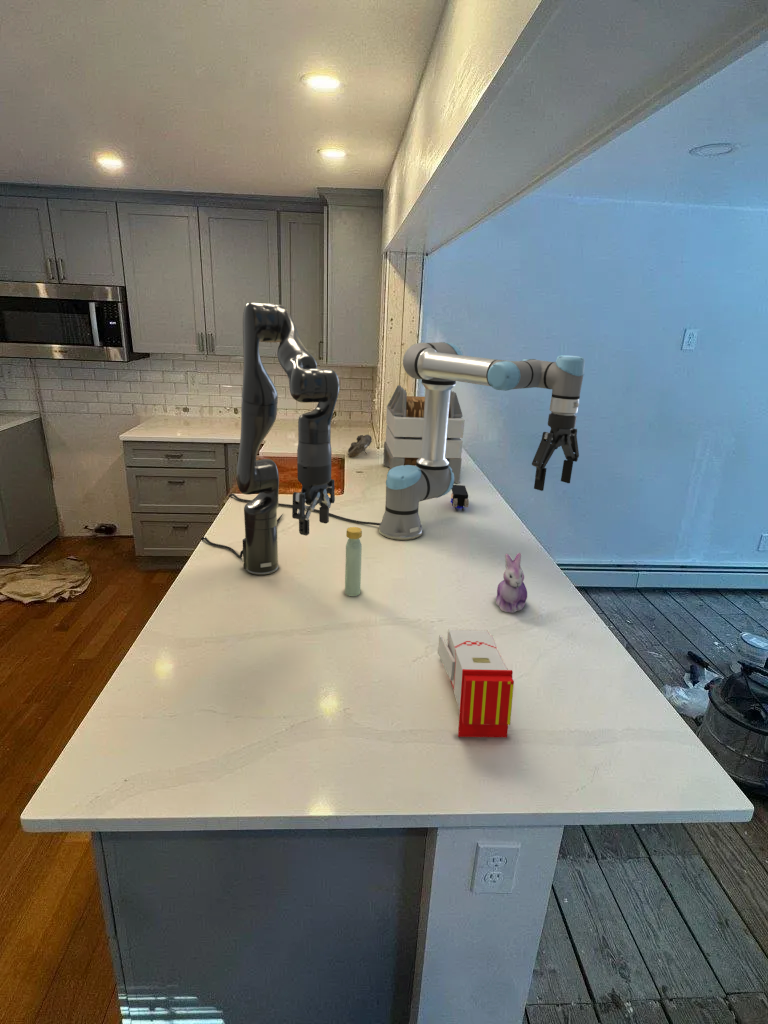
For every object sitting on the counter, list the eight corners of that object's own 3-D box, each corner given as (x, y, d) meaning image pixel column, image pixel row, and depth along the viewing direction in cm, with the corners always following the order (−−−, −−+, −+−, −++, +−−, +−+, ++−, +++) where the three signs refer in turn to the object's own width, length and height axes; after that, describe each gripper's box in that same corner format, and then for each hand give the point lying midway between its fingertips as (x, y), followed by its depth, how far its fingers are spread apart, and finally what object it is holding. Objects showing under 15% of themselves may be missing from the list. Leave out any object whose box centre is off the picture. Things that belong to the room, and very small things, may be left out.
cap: (350, 532, 154) (351, 525, 154) (364, 535, 153) (364, 528, 152) (343, 537, 151) (343, 530, 150) (357, 540, 149) (357, 533, 149)
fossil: (347, 440, 315) (369, 425, 310) (358, 454, 318) (379, 439, 313) (341, 454, 295) (364, 438, 290) (353, 468, 298) (375, 452, 293)
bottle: (349, 587, 160) (350, 527, 154) (362, 591, 159) (364, 530, 152) (342, 593, 157) (343, 532, 150) (355, 597, 155) (357, 535, 149)
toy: (488, 613, 130) (523, 677, 101) (484, 667, 133) (517, 744, 104) (435, 612, 130) (455, 676, 101) (432, 666, 133) (451, 743, 103)
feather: (290, 508, 223) (292, 504, 223) (272, 532, 197) (275, 527, 196) (286, 505, 223) (289, 501, 223) (268, 529, 197) (271, 525, 196)
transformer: (382, 463, 289) (386, 382, 275) (445, 464, 293) (451, 384, 279) (390, 482, 257) (394, 392, 243) (460, 483, 261) (468, 394, 247)
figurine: (509, 617, 148) (516, 565, 143) (485, 599, 156) (491, 550, 151) (537, 610, 152) (544, 559, 147) (512, 593, 161) (519, 544, 156)
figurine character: (468, 516, 224) (463, 500, 237) (471, 498, 221) (465, 483, 234) (452, 515, 224) (447, 499, 237) (453, 498, 220) (449, 482, 234)
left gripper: (317, 451, 133) (316, 516, 139) (281, 465, 121) (282, 535, 127) (344, 456, 130) (343, 522, 136) (311, 470, 118) (311, 542, 124)
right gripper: (548, 419, 148) (537, 496, 155) (598, 411, 163) (586, 482, 171) (525, 414, 153) (515, 489, 160) (575, 407, 169) (564, 476, 176)
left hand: (314, 528), depth 131 cm, fingers open, 8 cm apart
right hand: (552, 485), depth 166 cm, fingers open, 13 cm apart
